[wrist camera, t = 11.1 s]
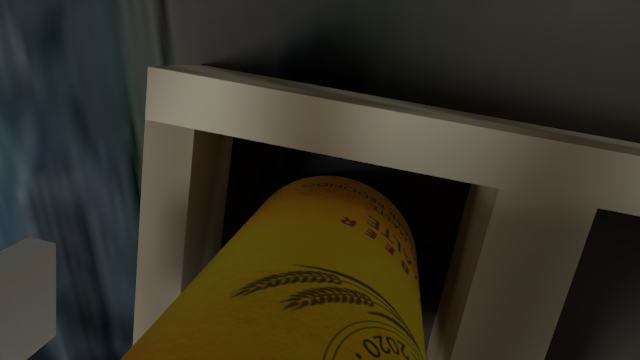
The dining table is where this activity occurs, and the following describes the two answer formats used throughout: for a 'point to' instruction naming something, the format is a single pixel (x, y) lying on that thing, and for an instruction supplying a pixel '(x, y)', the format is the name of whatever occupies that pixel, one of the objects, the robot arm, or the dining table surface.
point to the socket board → (395, 152)
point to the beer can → (302, 284)
